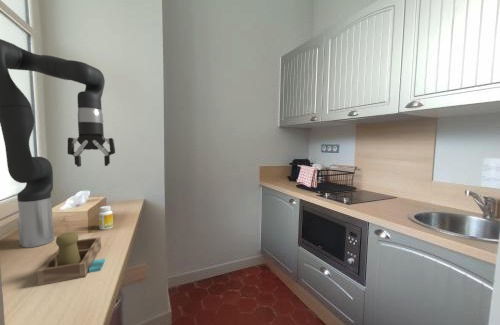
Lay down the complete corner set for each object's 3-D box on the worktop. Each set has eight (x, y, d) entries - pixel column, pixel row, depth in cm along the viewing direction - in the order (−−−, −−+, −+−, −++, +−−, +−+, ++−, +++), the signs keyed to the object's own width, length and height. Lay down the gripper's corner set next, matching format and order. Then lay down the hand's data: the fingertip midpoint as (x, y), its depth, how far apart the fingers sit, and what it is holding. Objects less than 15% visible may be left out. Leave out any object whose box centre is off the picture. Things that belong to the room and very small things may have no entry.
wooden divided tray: (65, 252, 80) (65, 241, 80) (111, 246, 85) (111, 235, 85) (38, 285, 61) (37, 271, 61) (98, 274, 67) (98, 261, 66)
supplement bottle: (96, 230, 101) (95, 208, 100) (103, 225, 107) (102, 205, 106) (109, 229, 102) (108, 208, 101) (115, 225, 107) (114, 205, 106)
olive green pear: (68, 276, 65) (65, 238, 64) (50, 273, 66) (47, 236, 65) (87, 264, 71) (84, 230, 70) (70, 263, 72) (68, 229, 71)
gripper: (62, 120, 77) (65, 167, 78) (111, 121, 82) (113, 166, 83) (70, 122, 84) (73, 165, 85) (115, 123, 89) (116, 164, 90)
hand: (93, 166), depth 84 cm, fingers open, 8 cm apart
